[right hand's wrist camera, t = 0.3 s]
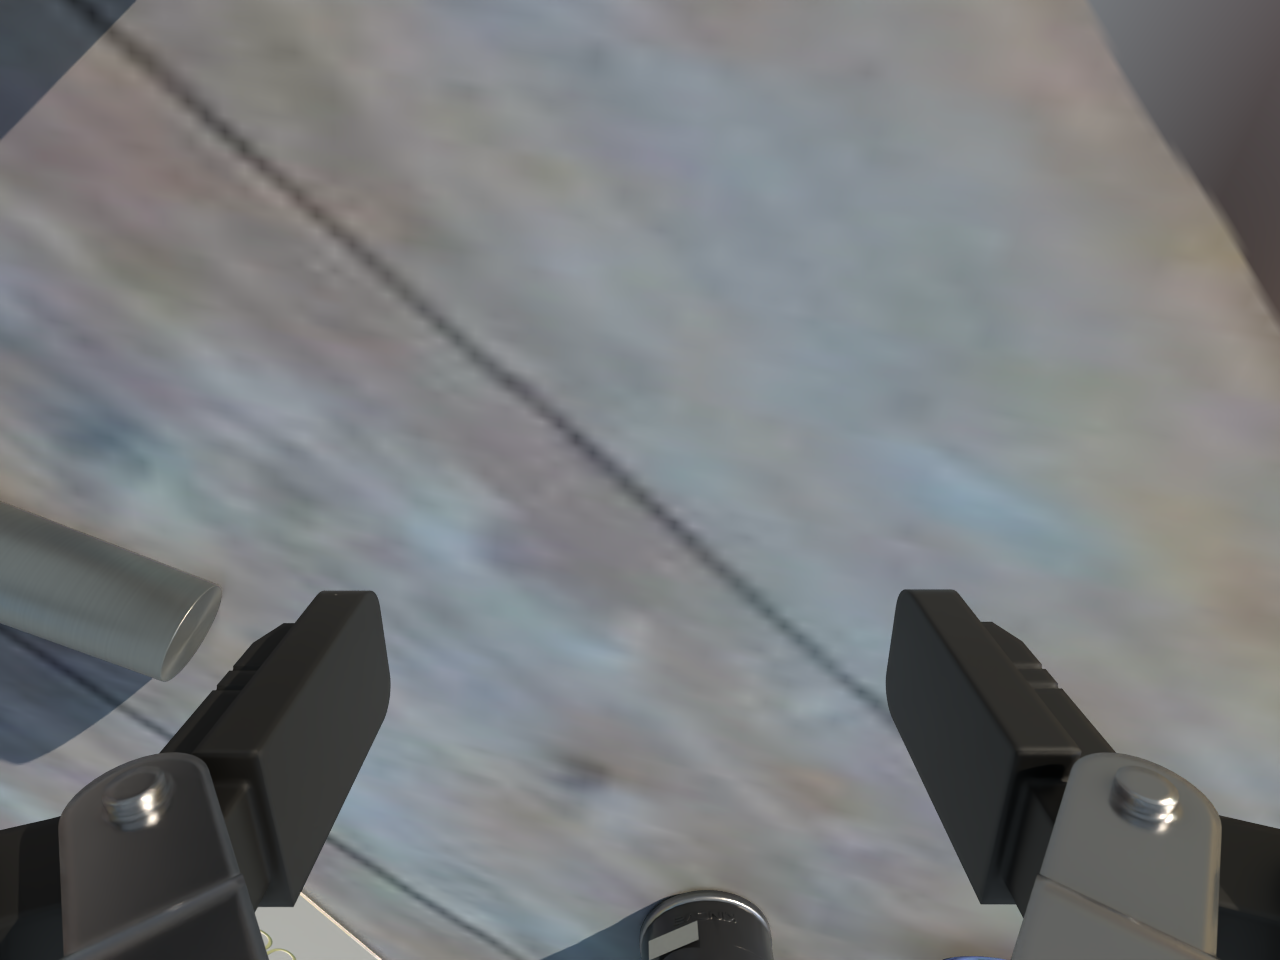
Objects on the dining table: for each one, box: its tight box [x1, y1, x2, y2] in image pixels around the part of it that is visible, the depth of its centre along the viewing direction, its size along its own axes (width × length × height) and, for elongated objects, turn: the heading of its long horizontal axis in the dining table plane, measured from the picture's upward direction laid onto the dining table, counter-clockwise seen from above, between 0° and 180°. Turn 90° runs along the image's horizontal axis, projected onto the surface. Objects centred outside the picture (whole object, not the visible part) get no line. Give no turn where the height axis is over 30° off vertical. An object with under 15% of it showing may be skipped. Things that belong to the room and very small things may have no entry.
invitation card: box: [255, 892, 382, 960], centre depth 53 cm, size 21×1×15 cm
